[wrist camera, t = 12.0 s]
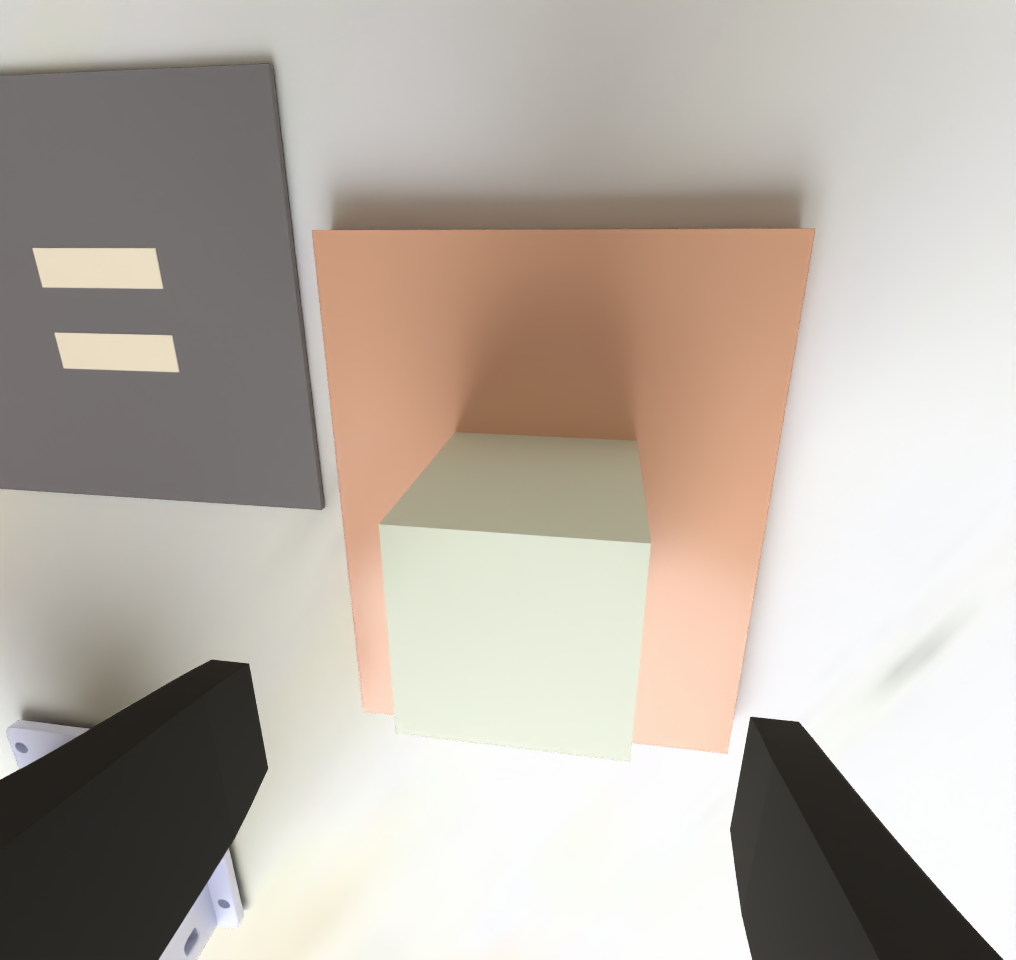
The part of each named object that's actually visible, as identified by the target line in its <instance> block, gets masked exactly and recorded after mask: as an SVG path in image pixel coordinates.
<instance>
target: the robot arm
mask: <svg viewBox="0 0 1016 960" xmlns="http://www.w3.org/2000/svg"><path fill="white" fill-rule="evenodd" d="M7 737H8V740H9V742H10V745H11V748H12V750H13V753H14V756H15V758H16V761H17V764H18V766H19V770H17V771H16V772H14V773H12V774H10V775H8V776H6V777H5V778H3V779H1V780H0V960H197V959H198V957H199V955H200V954H201V952H202V950H203V948H204V947H205V945H206V943H207V942H208V940H209V938H210V936H211V935H212V933H213V931H214V929H215V928H216V926H220V927H226V928H236V927H238V926H239V925H240V923H241V921H242V919H243V918H244V912H243V908H242V903H241V899H240V895H239V890H238V886H237V881H236V877H235V873H234V868H233V864H232V860H231V855H230V851H229V847H230V845H231V843H232V842H233V840H234V839H235V837H236V835H237V833H238V831H239V829H240V827H241V825H242V823H243V821H244V819H245V817H246V815H247V813H248V811H249V809H250V807H251V805H252V802H253V800H254V798H255V796H256V794H257V792H258V789H259V787H260V785H261V783H262V781H263V779H264V776H265V774H266V772H267V770H268V765H267V759H266V754H265V749H264V743H263V738H262V732H261V727H260V721H259V716H258V710H257V705H256V699H255V694H254V689H253V683H252V678H251V672H250V667H249V664H248V663H238V662H229V661H219V660H210V661H208V662H206V663H204V664H203V665H201V666H199V667H197V668H195V669H193V670H191V671H189V672H187V673H186V674H184V675H182V676H180V677H179V678H177V679H175V680H173V681H171V682H170V683H168V684H166V685H165V686H163V687H161V688H159V689H158V690H156V691H154V692H153V693H151V694H149V695H147V696H146V697H144V698H142V699H141V700H139V701H137V702H136V703H134V704H132V705H130V706H129V707H127V708H125V709H124V710H122V711H120V712H119V713H117V714H115V715H113V716H112V717H110V718H108V719H107V720H105V721H103V722H101V723H100V724H98V725H96V726H95V727H93V728H91V729H88V728H80V727H73V726H65V725H57V724H49V723H41V722H34V721H26V720H18V721H16V722H15V723H13V724H12V725H11V726H10V727H8V729H7ZM730 832H731V840H732V848H733V855H734V863H735V871H736V878H737V885H738V892H739V899H740V906H741V913H742V918H743V922H744V926H745V931H746V935H747V939H748V943H749V948H750V952H751V956H752V960H1003V959H1002V958H1001V957H1000V956H999V954H998V953H997V952H996V951H995V950H994V949H993V948H992V947H991V946H990V945H989V944H988V943H987V942H986V941H985V940H984V939H983V937H982V936H981V935H980V934H979V933H978V932H977V931H976V930H975V929H974V928H973V927H972V925H971V924H970V923H969V922H968V921H967V920H966V919H965V918H964V917H963V915H962V914H961V913H960V912H959V911H958V910H957V909H956V908H955V907H954V906H953V904H952V903H951V902H950V901H949V900H948V899H947V898H946V897H945V895H944V894H943V893H942V892H941V891H940V890H939V889H938V887H937V886H936V885H935V884H934V883H933V882H932V881H931V879H930V878H929V877H928V876H927V875H926V874H925V873H924V871H923V870H922V869H921V868H920V867H919V866H918V864H917V863H916V862H915V861H914V860H913V859H912V858H911V856H910V855H909V854H908V853H907V852H906V851H905V850H904V848H903V847H902V846H901V845H900V844H899V843H898V842H897V840H896V839H895V838H894V837H893V836H892V834H891V833H890V832H889V831H888V830H887V828H886V827H885V826H884V825H883V824H882V823H881V821H880V820H879V819H878V818H877V817H876V815H875V814H874V813H873V812H872V811H871V809H870V808H869V807H868V806H867V804H866V803H865V802H864V801H863V800H862V798H861V797H860V796H859V795H858V794H857V792H856V791H855V790H854V789H853V787H852V786H851V785H850V784H849V783H848V781H847V780H846V779H845V778H844V776H843V775H842V774H841V773H840V771H839V770H838V769H837V768H836V767H835V765H834V764H833V763H832V762H831V760H830V759H829V758H828V757H827V755H826V754H825V753H824V752H823V750H822V749H821V748H820V747H819V745H818V744H817V743H816V742H815V741H814V739H813V738H812V737H811V736H810V734H809V733H808V732H807V731H806V730H805V729H804V727H803V726H802V725H801V724H800V723H799V722H795V721H786V720H776V719H767V718H757V717H750V722H749V727H748V733H747V738H746V744H745V749H744V755H743V761H742V766H741V772H740V777H739V783H738V788H737V794H736V800H735V805H734V811H733V816H732V822H731V827H730Z"/></svg>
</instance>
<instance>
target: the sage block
mask: <svg viewBox="0 0 1016 960" xmlns="http://www.w3.org/2000/svg"><path fill="white" fill-rule="evenodd" d="M379 534H380V546H381V558H382V570H383V582H384V595H385V607H386V619H387V631H388V644H389V656H390V668H391V680H392V693H393V705H394V717H395V729H396V733H398V734H406V735H414V736H422V737H431V738H439V739H447V740H455V741H464V742H472V743H480V744H488V745H496V746H505V747H513V748H521V749H529V750H538V751H546V752H554V753H562V754H571V755H579V756H587V757H595V758H604V759H612V760H620V761H628V762H630V757H631V747H632V736H633V726H634V715H635V705H636V695H637V684H638V674H639V663H640V653H641V642H642V632H643V622H644V611H645V601H646V590H647V580H648V570H649V559H650V549H651V540H650V533H649V525H648V518H647V510H646V503H645V496H644V488H643V481H642V474H641V466H640V459H639V451H638V444H637V441H632V440H611V439H589V438H568V437H547V436H526V435H505V434H484V433H462V432H455V433H454V434H453V435H452V436H451V438H450V439H449V440H448V441H447V442H446V444H445V445H444V446H443V447H442V449H441V450H440V451H439V452H438V453H437V455H436V456H435V457H434V458H433V459H432V461H431V462H430V463H429V464H428V465H427V467H426V468H425V469H424V470H423V471H422V473H421V474H420V475H419V476H418V478H417V479H416V480H415V481H414V482H413V484H412V485H411V486H410V487H409V488H408V490H407V491H406V492H405V493H404V494H403V496H402V497H401V498H400V499H399V500H398V502H397V503H396V504H395V505H394V507H393V508H392V509H391V510H390V511H389V513H388V514H387V515H386V516H385V517H384V519H383V520H382V521H381V522H380V523H379Z"/></svg>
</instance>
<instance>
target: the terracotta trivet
mask: <svg viewBox="0 0 1016 960" xmlns="http://www.w3.org/2000/svg"><path fill="white" fill-rule="evenodd" d="M814 234H815V229H509V230H312V236H313V245H314V254H315V264H316V273H317V283H318V292H319V301H320V311H321V320H322V330H323V339H324V348H325V358H326V367H327V377H328V386H329V395H330V405H331V414H332V423H333V433H334V442H335V452H336V461H337V470H338V480H339V489H340V499H341V508H342V517H343V527H344V536H345V546H346V555H347V564H348V574H349V583H350V593H351V602H352V611H353V621H354V630H355V640H356V649H357V658H358V668H359V677H360V687H361V696H362V705H363V712H370V713H379V714H388V715H394V705H393V693H392V680H391V668H390V656H389V644H388V631H387V619H386V607H385V595H384V582H383V570H382V558H381V546H380V534H379V523H380V522H381V521H382V520H383V519H384V517H385V516H386V515H387V514H388V513H389V511H390V510H391V509H392V508H393V507H394V505H395V504H396V503H397V502H398V500H399V499H400V498H401V497H402V496H403V494H404V493H405V492H406V491H407V490H408V488H409V487H410V486H411V485H412V484H413V482H414V481H415V480H416V479H417V478H418V476H419V475H420V474H421V473H422V471H423V470H424V469H425V468H426V467H427V465H428V464H429V463H430V462H431V461H432V459H433V458H434V457H435V456H436V455H437V453H438V452H439V451H440V450H441V449H442V447H443V446H444V445H445V444H446V442H447V441H448V440H449V439H450V438H451V436H452V435H453V434H454V433H455V432H462V433H484V434H505V435H526V436H547V437H568V438H589V439H611V440H632V441H637V444H638V451H639V459H640V466H641V474H642V481H643V488H644V496H645V503H646V510H647V518H648V525H649V533H650V540H651V549H650V559H649V570H648V580H647V590H646V601H645V611H644V622H643V632H642V642H641V653H640V663H639V674H638V684H637V695H636V705H635V715H634V726H633V736H632V743H638V744H647V745H655V746H664V747H673V748H681V749H690V750H699V751H707V752H716V753H725V754H727V753H728V747H729V741H730V735H731V729H732V723H733V717H734V711H735V705H736V699H737V693H738V688H739V682H740V676H741V670H742V664H743V658H744V652H745V646H746V640H747V634H748V628H749V622H750V616H751V610H752V604H753V598H754V592H755V586H756V580H757V574H758V568H759V562H760V556H761V550H762V544H763V538H764V532H765V526H766V520H767V514H768V508H769V502H770V496H771V490H772V484H773V479H774V473H775V467H776V461H777V455H778V449H779V443H780V437H781V431H782V425H783V419H784V413H785V407H786V401H787V395H788V389H789V383H790V377H791V371H792V365H793V359H794V353H795V347H796V341H797V335H798V329H799V323H800V317H801V311H802V305H803V299H804V293H805V287H806V281H807V276H808V270H809V264H810V258H811V252H812V246H813V240H814Z"/></svg>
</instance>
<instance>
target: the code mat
mask: <svg viewBox="0 0 1016 960" xmlns="http://www.w3.org/2000/svg"><path fill="white" fill-rule="evenodd" d="M0 489H14V490H29V491H44V492H59V493H74V494H89V495H104V496H119V497H134V498H149V499H164V500H179V501H194V502H210V503H225V504H240V505H255V506H270V507H285V508H300V509H315V510H322V509H323V508H324V498H323V490H322V481H321V473H320V464H319V456H318V447H317V439H316V430H315V421H314V413H313V404H312V396H311V387H310V379H309V370H308V362H307V353H306V345H305V336H304V328H303V319H302V311H301V302H300V294H299V285H298V276H297V268H296V259H295V251H294V242H293V234H292V225H291V217H290V208H289V200H288V191H287V183H286V174H285V166H284V157H283V149H282V140H281V132H280V123H279V114H278V106H277V97H276V89H275V80H274V72H273V66H272V65H270V64H268V63H266V64H244V65H222V66H200V67H178V68H156V69H134V70H112V71H90V72H68V73H46V74H24V75H2V76H0Z"/></svg>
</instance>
